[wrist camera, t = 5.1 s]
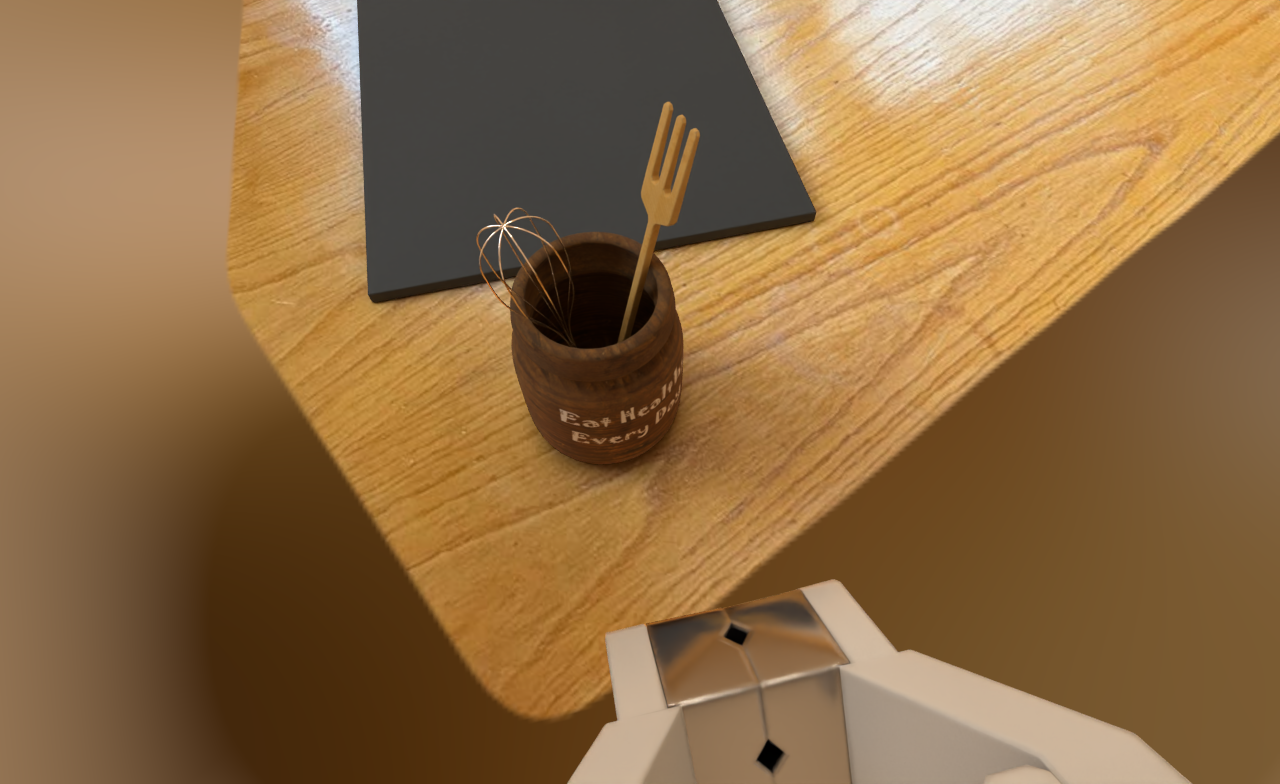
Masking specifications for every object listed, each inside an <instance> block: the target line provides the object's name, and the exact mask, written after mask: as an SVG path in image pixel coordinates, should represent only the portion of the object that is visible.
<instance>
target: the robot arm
mask: <svg viewBox="0 0 1280 784" xmlns="http://www.w3.org/2000/svg"><path fill="white" fill-rule="evenodd" d="M605 642H606V648H607V655H608V661H609V668H610V674H611V681H612V687H613V694H614V701H615V707H616V714H617V720H618V721H615V722H611V723H607V724H605V726H604V727H603V729H602V730H601V732H600V733H599V735H598V736H597V738H596V740H595V741H594V743H593V744H592V746H591V747H590V749H589V750H588V752H587V753H586V755H585V756H584V758H583V760H582V761H581V763H580V764H579V766H578V767H577V769H576V771H575V772H574V773H573V775H572V777H571V778H570V780H569V781H568V783H567V784H1192V783H1190V781H1188V780H1187V779H1186V778H1185V777H1184V776H1183V775H1182V774H1180V773H1179V772H1178V771H1177V770H1176V769H1175V768H1174V767H1172V766H1171V765H1170V764H1169V763H1168V762H1167V761H1166V760H1165V759H1163V758H1162V757H1161V756H1160V755H1159V754H1158V753H1157V752H1155V751H1154V750H1153V749H1152V748H1151V747H1150V746H1149V745H1147V744H1146V743H1145V742H1144V741H1143V740H1142V739H1141V738H1139V737H1138V736H1137V735H1136V734H1135V733H1132V732H1130V731H1127V730H1124V729H1122V728H1119V727H1116V726H1114V725H1111V724H1108V723H1106V722H1103V721H1100V720H1097V719H1095V718H1092V717H1090V716H1087V715H1084V714H1082V713H1079V712H1076V711H1073V710H1071V709H1068V708H1065V707H1063V706H1060V705H1057V704H1055V703H1052V702H1049V701H1047V700H1044V699H1041V698H1039V697H1036V696H1033V695H1030V694H1028V693H1025V692H1022V691H1020V690H1017V689H1015V688H1012V687H1009V686H1006V685H1004V684H1001V683H999V682H996V681H993V680H990V679H988V678H985V677H982V676H980V675H977V674H974V673H972V672H969V671H966V670H964V669H961V668H958V667H956V666H953V665H950V664H948V663H945V662H942V661H939V660H937V659H934V658H932V657H929V656H926V655H924V654H921V653H918V652H916V651H913V650H906V651H902V652H898V651H897V650H896V649H895V648H894V647H893V645H892V644H891V643H890V641H889V640H888V639H887V638H886V637H885V635H884V634H883V633H882V632H881V631H880V629H879V628H878V627H877V626H876V624H875V623H874V622H873V621H872V620H871V618H870V617H869V616H868V615H867V614H866V612H865V611H864V610H863V609H862V608H861V606H860V605H859V604H858V603H857V602H856V600H855V599H854V598H853V597H852V595H851V594H850V593H849V592H848V591H847V589H846V588H845V587H844V586H843V585H842V583H841V582H840V581H837V580H834V579H832V580H829V581H825V582H821V583H818V584H814V585H810V586H807V587H803V588H799V589H797V590H794V591H790V592H786V593H782V594H778V595H774V596H770V597H766V598H763V599H759V600H755V601H751V602H747V603H743V604H739V605H735V606H731V607H727V608H718V609H713V610H708V611H703V612H699V613H694V614H689V615H684V616H680V617H675V618H670V619H665V620H661V621H656V622H651V623H646V626H645V625H644V624H641V625H636V626H632V627H628V628H624V629H620V630H616V631H612V632H607V633H606V636H605Z"/></svg>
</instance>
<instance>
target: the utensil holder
mask: <svg viewBox="0 0 1280 784" xmlns="http://www.w3.org/2000/svg"><path fill="white" fill-rule="evenodd" d="M672 113H673V105H672V104H671V103H670V102H666V103H665V104H664V105H663V109H662V113H661V117H660V121H659V124H658V128H657V132H656V136H655V140H654V143H653V147H652V151H651V155H650V159H649V162H648V166H647V170H646V174H645V178H644V182H643V186H642V190H641V198H642V200H643V203H644V206H645V208H646V211H647V214H648V224H647V228H646V232H645V236H644V240H643V244H640V243H639V242H637V241H635V240H633V239H630V238H628V237H625V236H622V235H618V234H613V233H607V232H583V233H577V234H572V235H568V236H565V237H562V238H559V236H558V234H557V232H556V231H555V229H554V228H553V226H552V225H551V224H550V223H549V222H548V221H547V220H545V219H543V218H540V217H537V216H529V214H528V213H527V212H526V211H525V210H524V209H522V208H519V207H517V208H514V209H512V210H511V211H510V212H509V213H508V215H507V217H506V219H505V221H504V224H503V223H502V222H501V220H500V219H499V218H498V216H497V215H496V214H493V216H494V218H495V220H496V222H497V224H498V225H491V226H487V227H484V228H482V229H481V230H480V231H479V232H478V234H477V244H478V247H479V249H480V251H481V252H480V257H479V267H480V271H481V273H482V275H483V277H484V279H485V280H486V282H487V284H488V285H489V287H490V288H491V290H492V291H493V293H494V294H495V296H496V297H497V298H498V299H499V301H500V302H501V303H502V304H504V305H505V306H506V307H507V308H509V309H510V313H511V324H512V328H513V332H512V355H513V362H514V366H515V370H516V374H517V377H518V381H519V384H520V387H521V390H522V393H523V396H524V398H525V401H526V404H527V407H528V410H529V412H530V415H531V417H532V419H533V421H534V423H535V425H536V427H537V428H538V430H539V431H540V433H541V434H542V436H543V437H544V438H545V439H546V440H547V441H548V442H549V443H550V444H551V445H552V446H553V447H554V448H555V449H557V450H558V451H560V452H561V453H563V454H565V455H567V456H569V457H571V458H573V459H576V460H579V461H582V462H587V463H593V464H612V463H619V462H623V461H627V460H630V459H632V458H635V457H637V456H639V455H641V454H643V453H644V452H646V451H648V450H649V449H650V448H652V447H653V446H654V445H655V444H657V443H658V442H659V441H660V440H661V439H662V437H663V436H664V435H665V434H666V432H667V431H668V430H669V428H670V426H671V425H672V423H673V421H674V418H675V416H676V413H677V410H678V406H679V402H680V396H681V387H682V373H683V333H682V328H681V323H680V320H679V316H678V314H677V311H676V309H675V297H674V292H673V288H672V285H671V281H670V278H669V275H668V273H667V271H666V269H665V267H664V265H663V264H662V262H661V261H660V260H659V259H658V257H657V256H656V255H655V254H654V253H653V251H654V248H655V244H656V240H657V237H658V233H659V229H660V226H661V225H663V226H671V225H674V224H675V223H676V222H677V220H678V216H679V213H680V209H681V206H682V202H683V198H684V194H685V191H686V187H687V183H688V179H689V175H690V172H691V168H692V164H693V160H694V157H695V153H696V149H697V145H698V142H699V138H700V133H699V130H698V129H696V128H693V129H692V130H690V133H689V136H688V139H687V143H686V146H685V149H684V153H683V156H682V159H681V163H680V166H679V169H678V172H677V176H676V179H675V182H674V186H673V189H672V192H671V184H672V180H673V175H674V171H675V167H676V163H677V159H678V155H679V151H680V147H681V143H682V139H683V134H684V130H685V126H686V118H685V117H684V116H683V115H679V116H678V117H677V118H676V122H675V125H674V129H673V132H672V136H671V140H670V143H669V147H668V150H667V154H666V157H665V161H664V164H663V168H662V171H661V175H660V178H659V171H660V166H661V162H662V157H663V153H664V148H665V144H666V139H667V135H668V131H669V126H670V122H671V117H672ZM516 209H520V210H522V211H524V212H525V213H526V214H527V216H524V217H519V218H516V219H514V220H512V221H509V222H508V223H506V221H507V219H508V217H509V215H510V214H511V213H512V211H514V210H516ZM523 218H529V219H530V221H531V222H532V224H533V226H534V228H535V230H536V231H537V233H538V235H539V236H538V235H537V234H535V233H533V232H530V231H528V230H525V229H522V228H519V227H514V226H508V224H510V223H512V222H514V221H516V220H519V219H523ZM531 218H537V219H541V220H543V221H545V222H547V223H548V224H549V225H550V226H551V228H552V229H553V230H554V232H555V234H556V236H557V237H558V239H557V240H554V241H552V242H550V243H548V242H547V241H546V240H544V239H543V238H542V237H541V236H540V234H539V232H538V230H537V228H536V226H535V224H534V223H533V221H532V219H531ZM497 219H498V220H497ZM498 221H499V222H500V223H501V225H500V224H499V222H498ZM490 227H500V228H498V229H497V230H496V231H495V232H494V233H492V235H491V236H490V237H489V238H488V239H487V240H486V242H485V243H484V245H483V247H482V249H481V247H480V245H479V241H478V237H479V234H480V233H481V232H482V231H483V230H484V229H487V228H490ZM506 227H510V228H515V229H519V230H523V231H526V232H528V233H531V234H533V235H535V236H537V237H538V238H540V239H541V241H542V243H543V247H542V248H540V249H539V250H538V251H536V252H535V253H534V254H533V255H532V256H531V257H530V258H529V259H528V260H527V258H526V256H525V255H524V253H523V252H522V250H521V249H520V247H519V246H518V244H517V243H516V241H515V240H514V238H513V237H512V236H511V234H510V233H509V231H508V230H507V228H506ZM500 229H501V234H500V239H499V251H498V255H499V266H500V272H501V276H502V279H503V280H502V279H501V278H500V277H499V275H498V274H497V273H496V271H495V270H494V269H493V267H492V266H491V264H490V262H489V261H488V259H487V258H486V256H485V254H484V253H483V249H484V247H485V245H486V244H487V242H488V241H489V239H490V238H491V237H492V236H493V235H494V234H495V233H496V232H498V231H499V230H500ZM504 229H505V230H506V231H507V233H508V234H509V236H510V237H511V239H512V240H513V242H514V243H515V244H516V246H517V247H518V249H519V251H520V252H521V254H522V255H523V257H524V258H525V260H526V262H525V263H524V264H523V263H522V261H521V259H520V258H519V256H518V255H517V253H516V251H515V249H514V248H513V246H512V244H511V243H510V241H509V239H508V238H507V236H506V234H505V232H504V231H503V230H504ZM502 233H503V234H504V236H505V237H506V239H507V241H508V242H509V244H510V246H511V247H512V249H513V251H514V252H515V254H516V256H517V257H518V259H519V261H520V262H521V264H522V267H521V269H520V270H519V272H518V274H517V276H516V278H515V280H514V283H513V287H512V289H511V288H510V287H509V286H508V285H507V284H506V282H505V280H504V276H503V272H502V267H501V259H500V247H501V238H502ZM543 241H544V242H545V243H547V245H545V244H544V242H543ZM482 254H483V256H484V257H485V259H486V261H487V262H488V264H489V265H490V267H491V268H492V270H493V271H494V273H495V274H496V275H497V277H498V278H499V279H500V280H501V281H502V282H503V283H504V284H505V286H506V288H507V290H508V292H509V293H510V295H511V301H510V307H509V306H507V305H506V304H505V303H504V302H502V300H501V299H500V298H499V297H498V296H497V294H496V293H495V292H494V290H493V289H492V287H491V285H490V284H489V282H488V280H487V279H486V277H485V275H484V273H483V271H482V268H481V256H482ZM509 289H510V290H511V292H510V290H509Z"/></svg>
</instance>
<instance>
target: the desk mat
mask: <svg viewBox="0 0 1280 784" xmlns="http://www.w3.org/2000/svg"><path fill="white" fill-rule="evenodd" d="M357 9H358V36H359V63H360V90H361V117H362V144H363V171H364V198H365V225H366V252H367V279H368V295H369V297H370V299H371V300H372V302H379V301H384V300H390V299H395V298H400V297H406V296H411V295H417V294H422V293H427V292H433V291H438V290H444V289H449V288H454V287H460V286H465V285H470V284H476V283H481V282H486V280H485V279H484V277H483V275H482V273H481V271H480V267H479V257H480V252H481V251H480V249H479V247H478V244H477V234H478V232H479V231H480V230H481V229H482V228H484V227H487V226H491V225H498V224H497V222H496V220H495V218H494V216H493V214H496V215H497V216H498V218H499V219H500V220H501V222H502V223H503V224H504V221H505V219H506V217H507V215H508V213H509V212H510V211H511V210H512V209H514V208H517V207H519V208H522V209H524V210H525V211H526V212H527V213H528V214H529V216H537V217H540V218H543V219H545V220H547V221H548V222H549V223H550V224H551V225H552V226H553V228H554V229H555V231H556V232H557V234H558V236H559V238H562V237H565V236H568V235H572V234H577V233H583V232H607V233H613V234H618V235H622V236H625V237H628V238H630V239H633V240H635V241H637V242H639V243H640V244H643V240H644V236H645V232H646V228H647V224H648V214H647V211H646V208H645V206H644V203H643V200H642V198H641V190H642V186H643V182H644V178H645V174H646V170H647V166H648V162H649V159H650V155H651V151H652V147H653V143H654V140H655V136H656V132H657V128H658V124H659V121H660V117H661V113H662V109H663V105H664V104H665V103H666V102H670V103H671V104H672V105H673V113H672V117H671V122H670V126H669V131H668V135H667V139H666V144H665V148H664V153H663V157H662V162H661V166H660V171H659V178H660V175H661V171H662V168H663V164H664V161H665V157H666V154H667V150H668V147H669V143H670V140H671V136H672V132H673V129H674V125H675V122H676V118H677V117H678V116H679V115H683V116H684V117H685V118H686V126H685V130H684V134H683V139H682V143H681V147H680V151H679V155H678V159H677V163H676V167H675V171H674V175H673V180H672V184H671V192H672V189H673V186H674V182H675V179H676V176H677V172H678V169H679V166H680V163H681V159H682V156H683V153H684V149H685V146H686V143H687V139H688V136H689V133H690V130H692V129H693V128H696V129H698V130H699V133H700V138H699V142H698V145H697V149H696V153H695V157H694V160H693V164H692V168H691V172H690V175H689V179H688V183H687V187H686V191H685V194H684V198H683V202H682V206H681V209H680V213H679V216H678V220H677V222H676V223H675V224H674V225H671V226H663V225H661V226H660V229H659V233H658V237H657V240H656V244H655V248H654V250H659V249H664V248H670V247H675V246H681V245H686V244H691V243H697V242H702V241H707V240H713V239H718V238H724V237H729V236H734V235H740V234H745V233H751V232H756V231H761V230H767V229H772V228H778V227H783V226H788V225H794V224H799V223H804V222H810V221H814V219H815V215H816V210H815V208H814V206H813V204H812V202H811V200H810V197H809V195H808V193H807V191H806V189H805V187H804V185H803V183H802V180H801V178H800V176H799V174H798V172H797V170H796V168H795V166H794V163H793V161H792V159H791V157H790V155H789V153H788V151H787V149H786V146H785V144H784V142H783V140H782V138H781V136H780V134H779V132H778V129H777V127H776V125H775V123H774V121H773V119H772V117H771V115H770V112H769V110H768V108H767V106H766V104H765V102H764V100H763V98H762V95H761V93H760V91H759V89H758V87H757V85H756V83H755V81H754V78H753V76H752V74H751V72H750V70H749V68H748V66H747V64H746V61H745V59H744V57H743V55H742V53H741V51H740V49H739V46H738V44H737V42H736V40H735V38H734V36H733V34H732V32H731V29H730V27H729V25H728V23H727V21H726V19H725V17H724V15H723V12H722V10H721V8H720V6H719V4H718V2H717V0H357ZM524 216H527V214H526V213H525V212H524V211H522V210H520V209H516V210H514V211H512V213H511V214H510V215H509V217H508V219H507V221H506V223H508V222H509V221H512V220H514V219H516V218H519V217H524ZM531 219H532V221H533V223H534V224H535V226H536V228H537V230H538V232H539V234H540V236H541V237H542V238H543V239H544V240H546V241H547V242H548V243H550V242H552V241H554V240H557V239H558V237H557V236H556V234H555V232H554V230H553V229H552V228H551V226H550V225H549V224H548V223H547V222H545V221H543V220H541V219H537V218H531ZM497 220H498V219H497ZM498 222H499V221H498ZM499 224H500V225H501V223H500V222H499ZM508 226H514V227H519V228H522V229H525V230H528V231H530V232H533V233H535V234H537V235H538V233H537V231H536V230H535V228H534V226H533V224H532V222H531V221H530V219H529V218H523V219H519V220H516V221H514V222H512V223H510V224H508ZM498 228H500V227H490V228H487V229H484V230H483V231H482V232H481V233H480V234H479V237H478V241H479V245H480V247H481V249H482V247H483V245H484V243H485V242H486V240H487V239H488V238H489V237H490V236H491V235H492V233H494V232H495V231H496V230H497V229H498ZM506 228H507V230H508V231H509V233H510V234H511V236H512V237H513V238H514V240H515V241H516V243H517V244H518V246H519V247H520V249H521V250H522V252H523V253H524V255H525V256H526V258H527V260H528V259H529V258H530V257H531V256H532V255H533V254H534V253H535V252H536V251H538V250H539V249H540V248H542V247H543V243H542V241H541V239H540V238H538V237H537V236H535V235H533V234H531V233H528V232H526V231H523V230H519V229H515V228H510V227H506ZM503 231H504V232H505V234H506V236H507V238H508V239H509V241H510V243H511V244H512V246H513V248H514V249H515V251H516V253H517V255H518V256H519V258H520V259H521V261H522V263H523V264H524V263H525V262H526V260H525V258H524V257H523V255H522V254H521V252H520V251H519V249H518V247H517V246H516V244H515V243H514V242H513V240H512V239H511V237H510V236H509V234H508V233H507V231H506V230H505V229H504V230H503ZM500 234H501V229H500V230H499V231H498V232H496V233H495V234H494V235H493V236H492V237H491V238H490V239H489V241H488V242H487V244H486V245H485V247H484V249H483V253H484V254H485V256H486V258H487V259H488V261H489V262H490V264H491V266H492V267H493V269H494V270H495V271H496V273H497V274H498V275H499V277H500V278H501V279H502V276H501V272H500V266H499V255H498V251H499V239H500ZM538 236H539V235H538ZM543 242H544V241H543ZM544 244H545V245H547V243H545V242H544ZM500 259H501V267H502V272H503V276H504V278H508V277H514V276H517V274H518V272H519V270H520V269H521V267H522V264H521V262H520V261H519V259H518V257H517V256H516V254H515V252H514V251H513V249H512V247H511V246H510V244H509V242H508V241H507V239H506V237H505V236H504V234H503V233H502V238H501V247H500ZM481 268H482V271H483V273H484V275H485V277H486V279H487V280H488V281H492V280H497V279H499V278H498V277H497V275H496V274H495V273H494V271H493V270H492V268H491V267H490V265H489V264H488V262H487V261H486V259H485V257H484V256H483V254H482V256H481Z"/></svg>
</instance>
